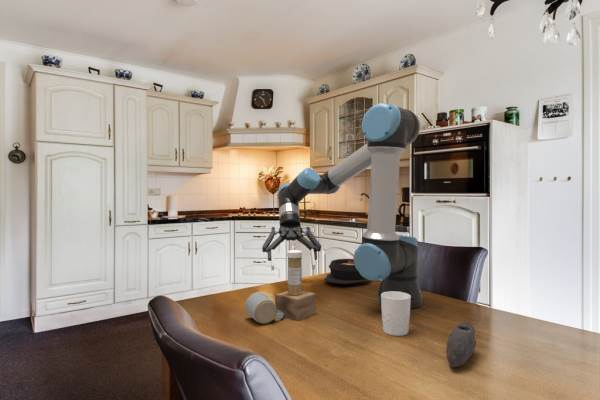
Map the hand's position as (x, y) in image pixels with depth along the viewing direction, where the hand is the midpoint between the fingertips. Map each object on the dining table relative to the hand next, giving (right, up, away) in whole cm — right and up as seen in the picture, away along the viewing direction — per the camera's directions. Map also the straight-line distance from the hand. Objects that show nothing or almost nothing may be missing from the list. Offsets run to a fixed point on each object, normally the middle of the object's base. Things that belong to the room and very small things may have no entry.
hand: (293, 267), depth 127 cm
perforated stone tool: (+38, -14, -40) cm, 57 cm away
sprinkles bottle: (+1, -7, -8) cm, 10 cm away
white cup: (+28, -14, -22) cm, 38 cm away
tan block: (+1, -13, -7) cm, 15 cm away
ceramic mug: (-8, -13, -13) cm, 20 cm away
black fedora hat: (+23, -12, +36) cm, 44 cm away
